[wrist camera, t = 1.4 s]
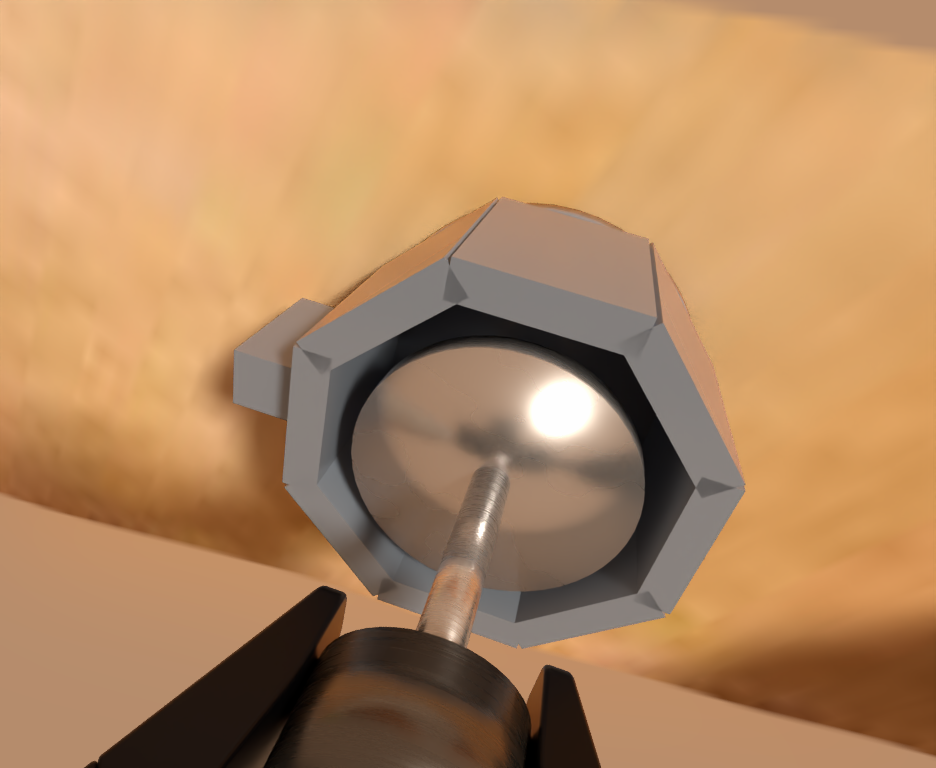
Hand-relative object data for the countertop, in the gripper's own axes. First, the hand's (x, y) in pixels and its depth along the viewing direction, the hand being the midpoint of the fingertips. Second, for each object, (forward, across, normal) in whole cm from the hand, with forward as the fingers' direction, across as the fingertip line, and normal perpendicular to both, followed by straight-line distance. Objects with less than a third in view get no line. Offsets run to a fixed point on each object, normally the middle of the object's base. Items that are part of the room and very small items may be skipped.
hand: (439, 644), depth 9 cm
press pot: (+9, 0, 0) cm, 9 cm away
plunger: (+5, 0, 0) cm, 5 cm away
